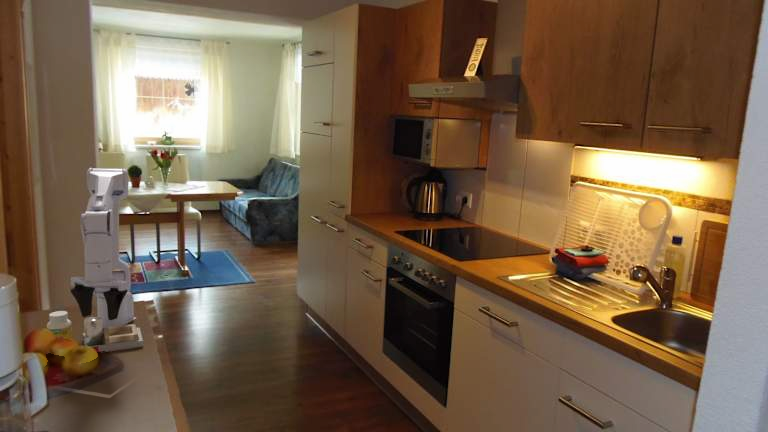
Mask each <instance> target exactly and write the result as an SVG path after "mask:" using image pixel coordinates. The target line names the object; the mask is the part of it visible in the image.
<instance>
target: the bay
mask: <svg viewBox="0 0 768 432" xmlns="http://www.w3.org/2000/svg"><path fill="white" fill-rule="evenodd" d="M136 329H137V333H138V340H135V341H127V342H120V343H112V344H105V340H104V331H102V334H103V345H97V346H98V347H99V349H100V350H101V351H105V352H104V353H106V352H107V353H108V352H113V351H114V352H115V351H116V352H117V351H121V350H123V351H124V350H130V349H136V348H143V347H144V340H143V336H142V332H141V328H140V327H136ZM83 344H85V332H84V333H82V345H83ZM97 346H91V347H97Z"/></svg>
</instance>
